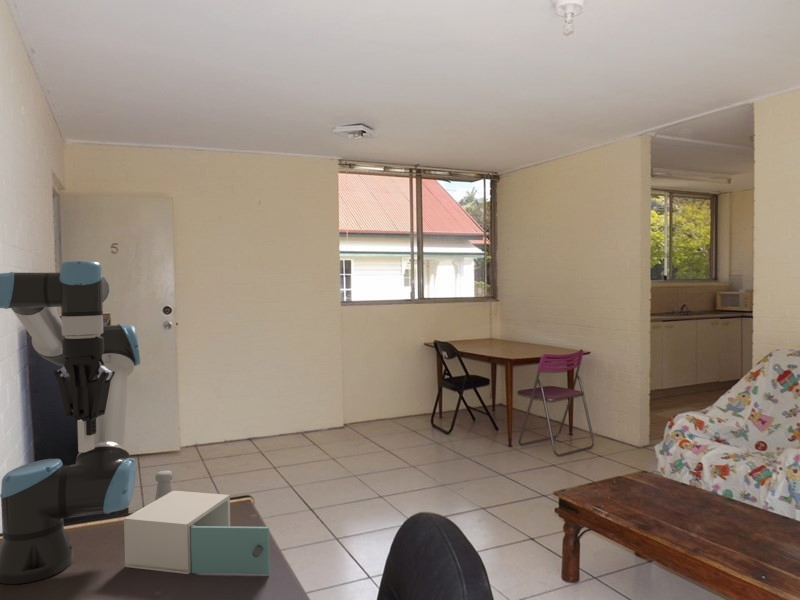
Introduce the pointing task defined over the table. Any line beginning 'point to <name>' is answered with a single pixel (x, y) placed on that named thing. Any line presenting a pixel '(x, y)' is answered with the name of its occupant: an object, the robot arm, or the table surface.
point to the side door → (229, 549)
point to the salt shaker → (163, 483)
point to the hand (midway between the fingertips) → (86, 450)
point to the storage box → (171, 529)
